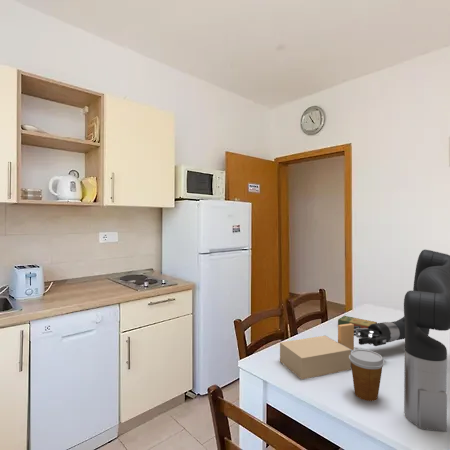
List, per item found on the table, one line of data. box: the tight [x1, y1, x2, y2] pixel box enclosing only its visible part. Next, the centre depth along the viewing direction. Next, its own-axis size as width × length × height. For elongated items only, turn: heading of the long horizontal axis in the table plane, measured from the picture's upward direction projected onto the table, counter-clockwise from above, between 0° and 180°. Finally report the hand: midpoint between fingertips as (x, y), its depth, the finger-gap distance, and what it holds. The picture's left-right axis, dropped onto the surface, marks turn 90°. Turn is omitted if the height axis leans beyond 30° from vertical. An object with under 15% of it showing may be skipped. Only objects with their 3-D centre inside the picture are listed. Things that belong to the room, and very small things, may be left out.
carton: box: [337, 315, 378, 328], centre depth 149 cm, size 8×16×4 cm, turn 48°
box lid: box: [279, 335, 352, 380], centre depth 110 cm, size 20×14×7 cm
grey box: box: [327, 323, 355, 369], centre depth 111 cm, size 26×14×12 cm, turn 110°
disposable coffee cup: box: [349, 348, 385, 402], centre depth 91 cm, size 10×10×12 cm
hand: (350, 337), depth 115 cm, fingers open, 8 cm apart
